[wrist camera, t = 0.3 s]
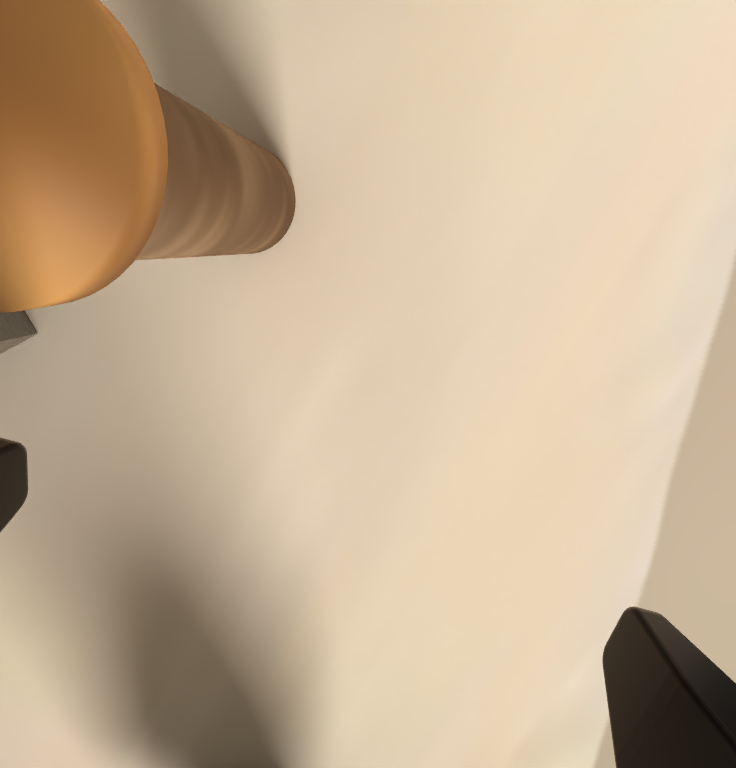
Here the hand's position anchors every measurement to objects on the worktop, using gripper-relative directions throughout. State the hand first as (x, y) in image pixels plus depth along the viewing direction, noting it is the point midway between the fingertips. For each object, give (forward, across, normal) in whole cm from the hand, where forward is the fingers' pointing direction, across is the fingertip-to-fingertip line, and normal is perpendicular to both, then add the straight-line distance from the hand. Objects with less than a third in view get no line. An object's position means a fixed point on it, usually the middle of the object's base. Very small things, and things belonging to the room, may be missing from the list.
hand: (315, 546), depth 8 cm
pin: (+15, +7, -3) cm, 16 cm away
